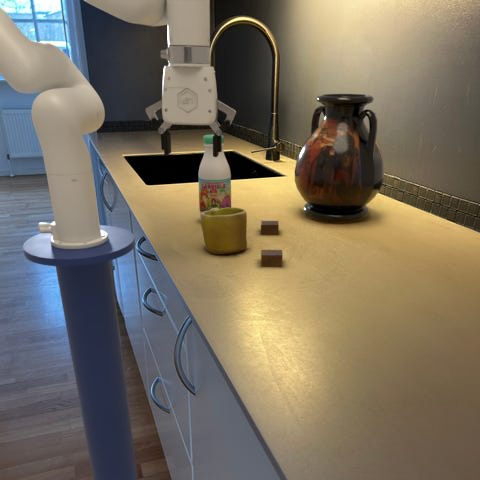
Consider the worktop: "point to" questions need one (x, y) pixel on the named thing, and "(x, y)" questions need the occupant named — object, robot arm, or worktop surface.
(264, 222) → the block
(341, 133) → the amphora vase
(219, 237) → the mug
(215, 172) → the milk bottle
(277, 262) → the block
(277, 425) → the worktop surface
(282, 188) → the worktop surface
